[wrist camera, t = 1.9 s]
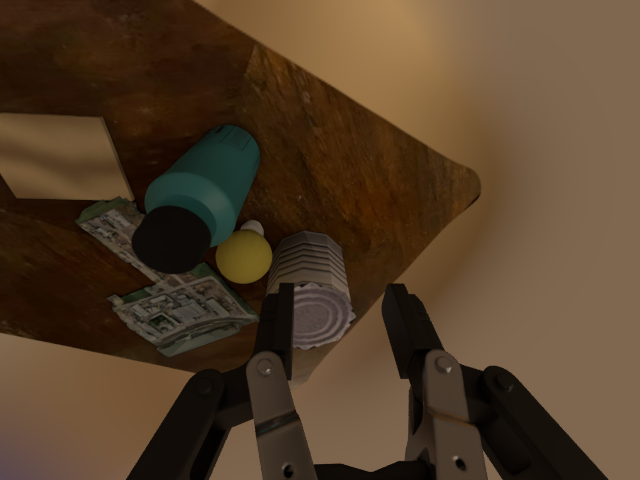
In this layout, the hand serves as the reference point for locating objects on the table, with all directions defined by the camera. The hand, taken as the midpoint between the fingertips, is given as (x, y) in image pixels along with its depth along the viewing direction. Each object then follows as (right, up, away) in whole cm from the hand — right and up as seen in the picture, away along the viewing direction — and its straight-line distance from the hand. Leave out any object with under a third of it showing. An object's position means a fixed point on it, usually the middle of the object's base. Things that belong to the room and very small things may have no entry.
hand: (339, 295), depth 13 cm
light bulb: (-11, +5, +25) cm, 27 cm away
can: (-3, 0, +29) cm, 29 cm away
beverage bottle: (-11, +14, +19) cm, 26 cm away
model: (-28, -5, +30) cm, 42 cm away
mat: (-32, +12, +18) cm, 39 cm away
